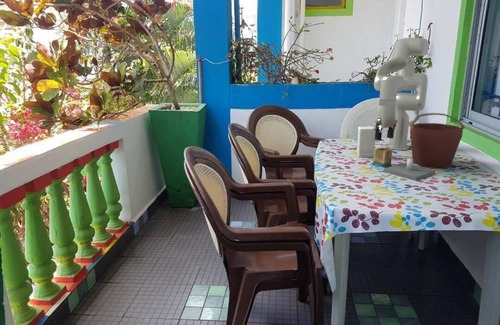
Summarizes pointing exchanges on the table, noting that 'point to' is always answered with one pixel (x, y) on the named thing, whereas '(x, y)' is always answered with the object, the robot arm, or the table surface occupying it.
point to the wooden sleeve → (382, 157)
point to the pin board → (409, 170)
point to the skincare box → (366, 142)
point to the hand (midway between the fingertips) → (384, 139)
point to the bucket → (434, 142)
